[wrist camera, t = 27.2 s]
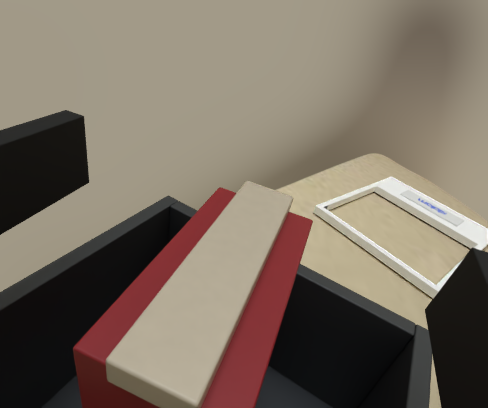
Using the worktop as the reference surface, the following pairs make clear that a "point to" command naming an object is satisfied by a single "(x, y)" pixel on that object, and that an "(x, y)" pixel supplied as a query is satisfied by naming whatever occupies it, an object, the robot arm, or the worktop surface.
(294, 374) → the bin
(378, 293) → the worktop surface
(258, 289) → the block
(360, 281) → the worktop surface
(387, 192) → the photo frame
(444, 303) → the robot arm
